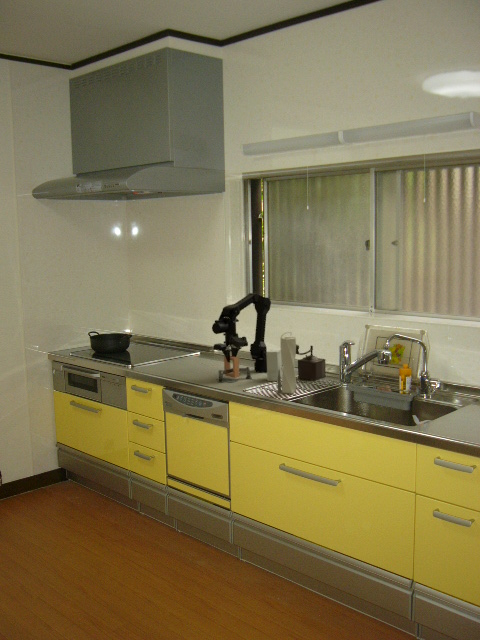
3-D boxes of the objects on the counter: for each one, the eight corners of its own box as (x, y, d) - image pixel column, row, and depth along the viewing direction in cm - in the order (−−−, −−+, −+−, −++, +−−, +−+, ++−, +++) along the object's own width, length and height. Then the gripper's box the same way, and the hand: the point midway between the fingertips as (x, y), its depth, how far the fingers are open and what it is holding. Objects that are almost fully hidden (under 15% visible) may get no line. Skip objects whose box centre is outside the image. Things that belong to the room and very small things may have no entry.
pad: (223, 377, 342) (223, 377, 342) (238, 381, 334) (238, 380, 334) (216, 379, 339) (216, 379, 339) (231, 382, 331) (231, 382, 331)
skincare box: (278, 381, 331) (277, 352, 329) (266, 381, 332) (265, 351, 330) (282, 377, 338) (281, 349, 336) (271, 377, 340) (270, 348, 338)
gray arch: (251, 377, 341) (251, 366, 340) (251, 381, 332) (251, 370, 331) (218, 378, 341) (218, 367, 340) (217, 382, 332) (217, 371, 331)
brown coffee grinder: (308, 374, 345) (307, 340, 342) (326, 376, 338) (325, 341, 335) (290, 380, 333) (289, 344, 331) (308, 382, 326) (307, 346, 323)
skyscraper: (283, 389, 315) (281, 331, 311) (299, 390, 312) (298, 331, 308) (277, 394, 307) (275, 334, 304) (293, 395, 304) (292, 334, 300)
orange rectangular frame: (229, 374, 343) (228, 355, 341) (239, 376, 337) (238, 357, 335) (224, 375, 341) (224, 356, 339) (234, 377, 335) (234, 358, 333)
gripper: (226, 335, 323) (227, 366, 326) (254, 330, 336) (255, 361, 338) (212, 333, 332) (213, 363, 334) (240, 328, 344) (241, 358, 346)
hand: (231, 361), depth 338 cm, fingers closed on orange rectangular frame, 3 cm apart
